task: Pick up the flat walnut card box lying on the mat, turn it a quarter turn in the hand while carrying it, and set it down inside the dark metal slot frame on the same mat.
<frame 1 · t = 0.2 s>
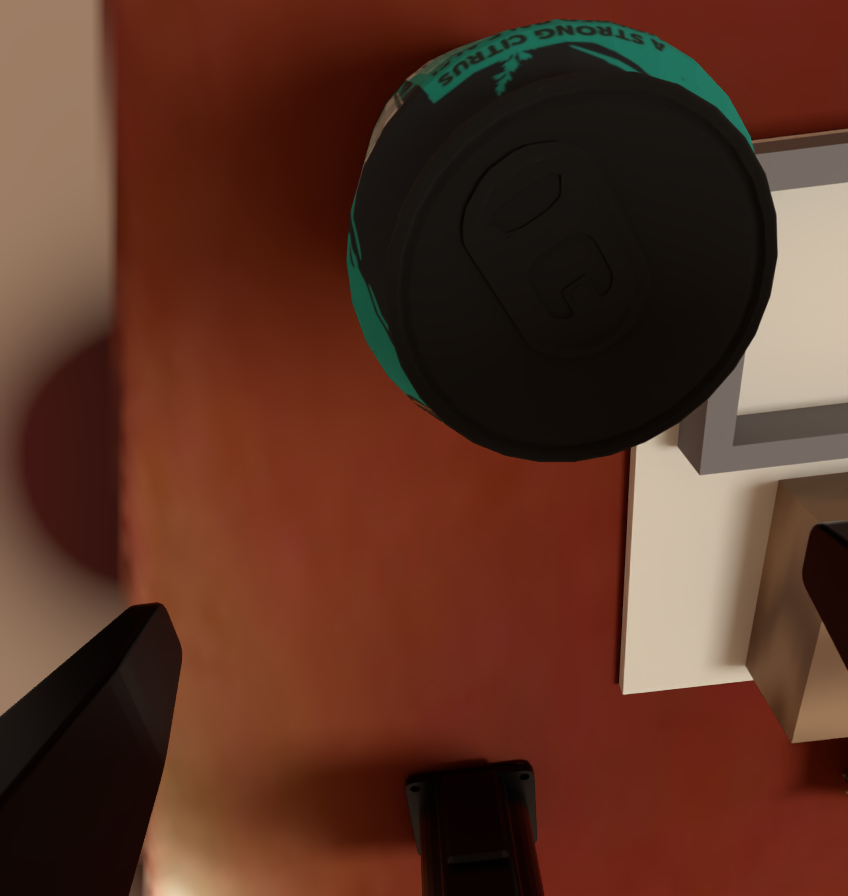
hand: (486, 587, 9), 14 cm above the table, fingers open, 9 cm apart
card box: (832, 572, 28), point 1 cm above the table, touching mat
beverage can: (481, 179, 20), on the table
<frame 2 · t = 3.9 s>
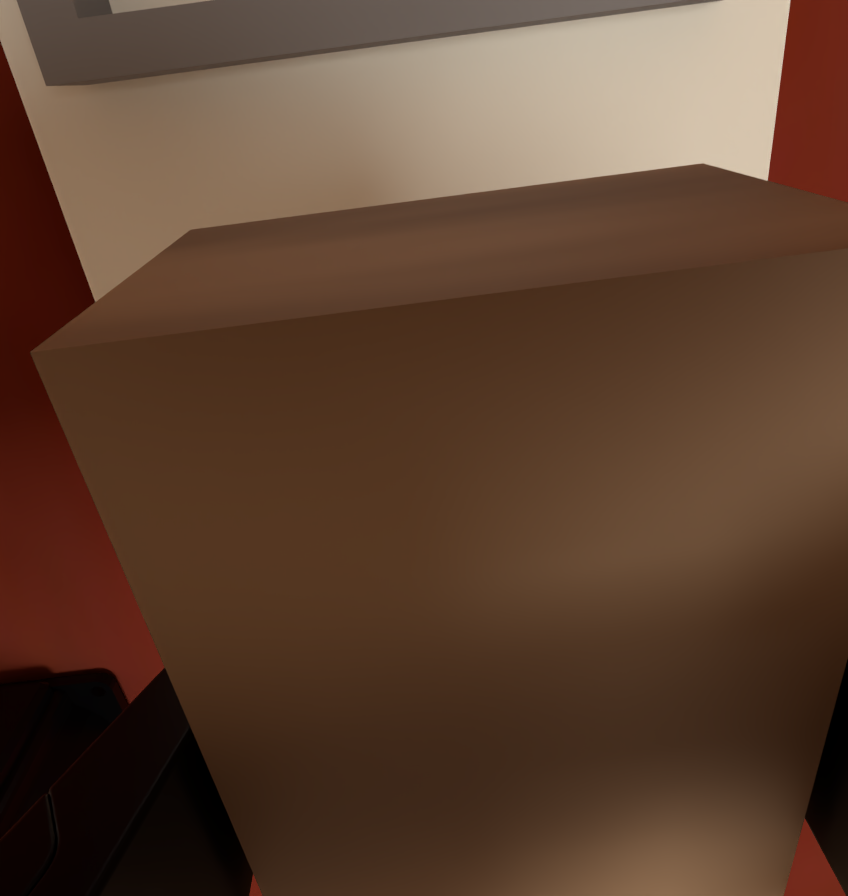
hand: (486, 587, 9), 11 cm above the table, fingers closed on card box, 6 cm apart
card box: (477, 540, 10), point 9 cm above the table, touching gripper
mat: (410, 117, 16), on the table
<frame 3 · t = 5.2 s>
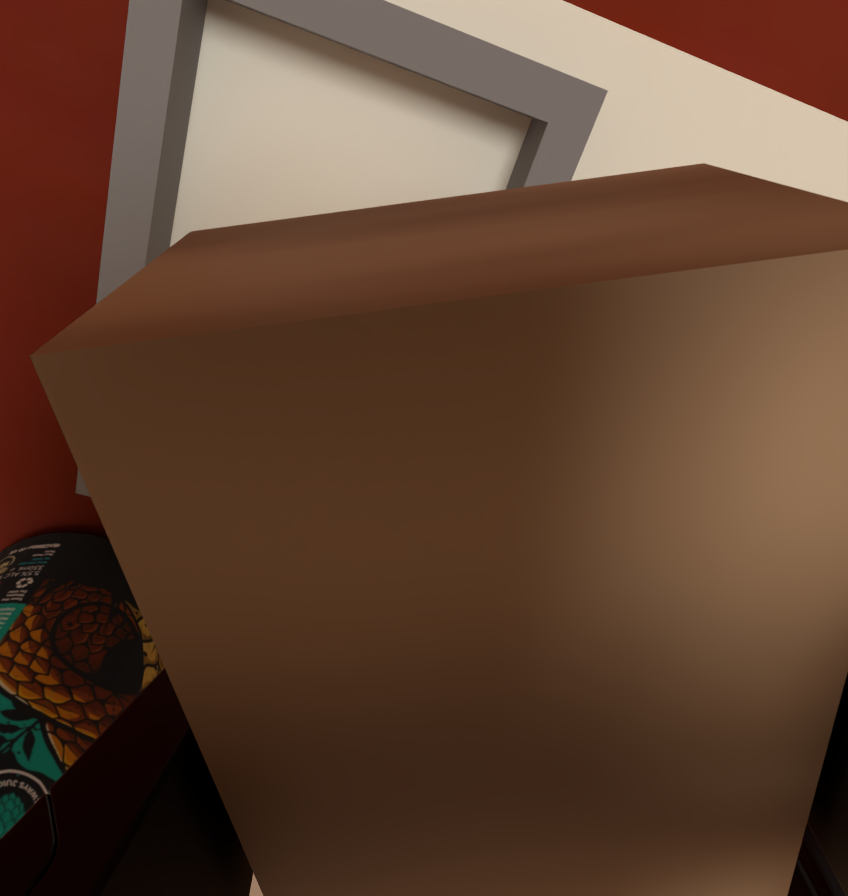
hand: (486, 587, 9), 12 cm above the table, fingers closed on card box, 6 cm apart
card box: (479, 541, 10), point 11 cm above the table, touching gripper
mat: (526, 355, 20), on the table
beverage can: (97, 595, 24), on the table
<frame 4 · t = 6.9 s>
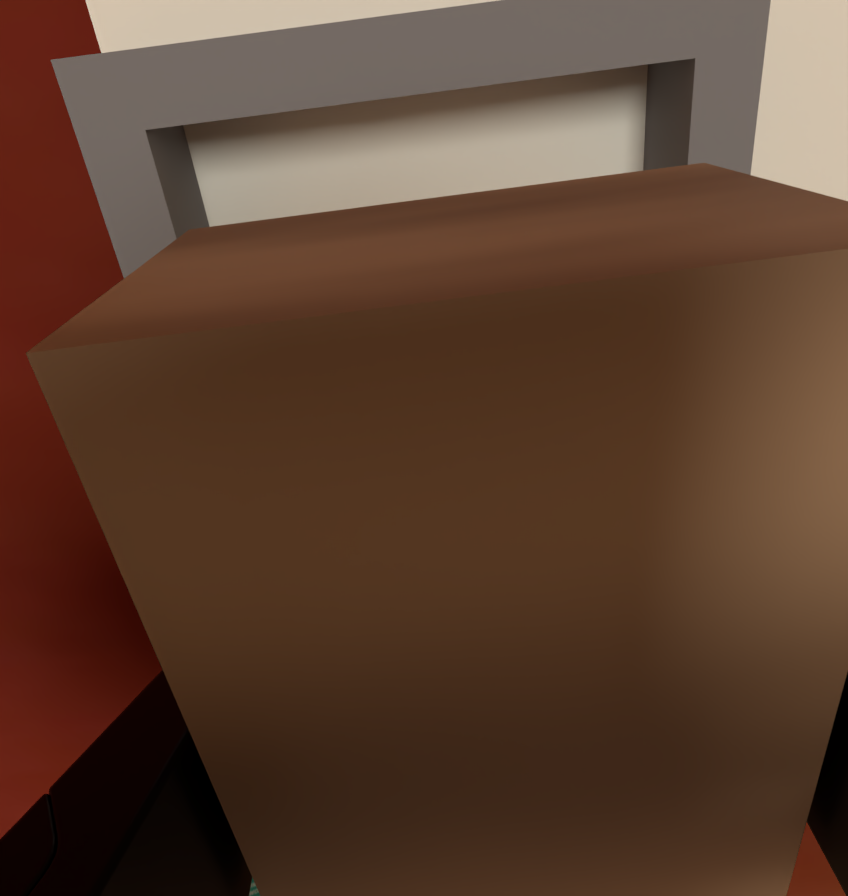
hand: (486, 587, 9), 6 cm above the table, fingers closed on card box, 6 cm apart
card box: (477, 541, 10), point 5 cm above the table, touching gripper
mat: (738, 359, 15), on the table
when the fingers open (3 cm above the table, at t = 8.0 s): card box drops 2 cm, resting on mat.
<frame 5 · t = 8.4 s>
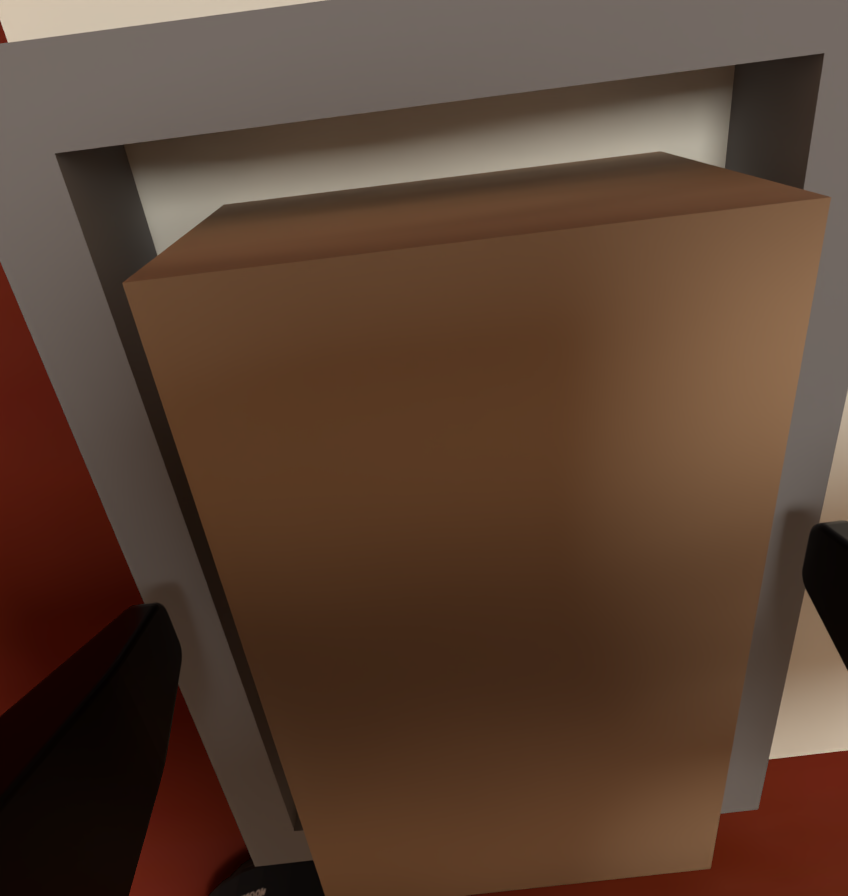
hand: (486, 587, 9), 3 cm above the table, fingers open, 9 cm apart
card box: (468, 485, 12), point 1 cm above the table, touching mat
mat: (822, 425, 12), on the table
beverage can: (332, 890, 19), on the table
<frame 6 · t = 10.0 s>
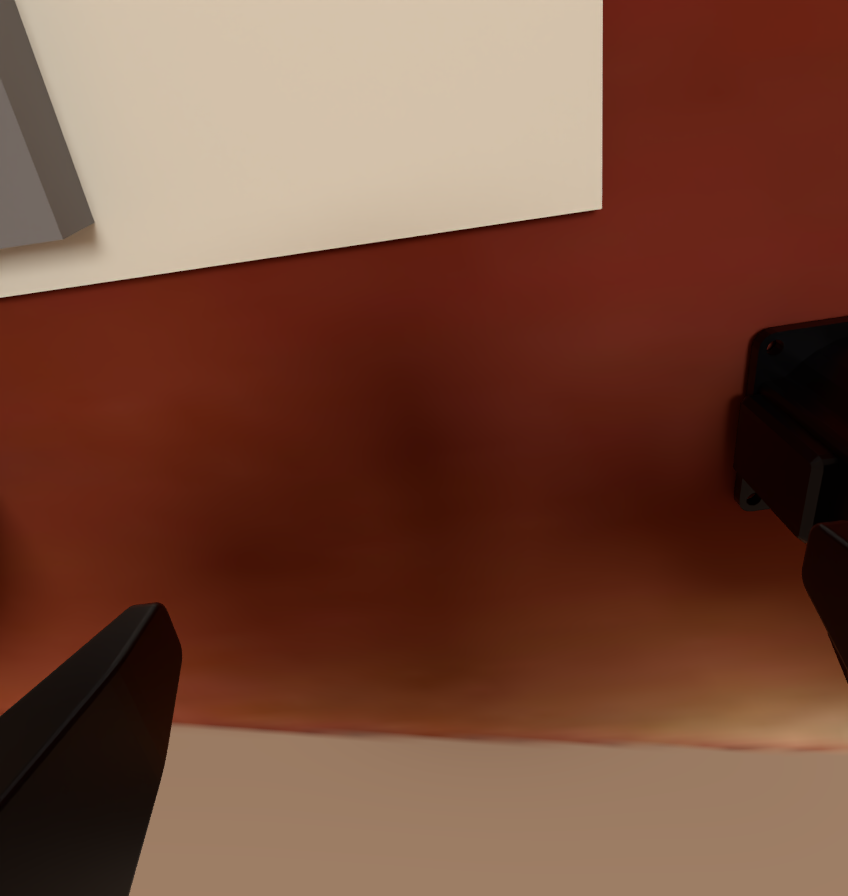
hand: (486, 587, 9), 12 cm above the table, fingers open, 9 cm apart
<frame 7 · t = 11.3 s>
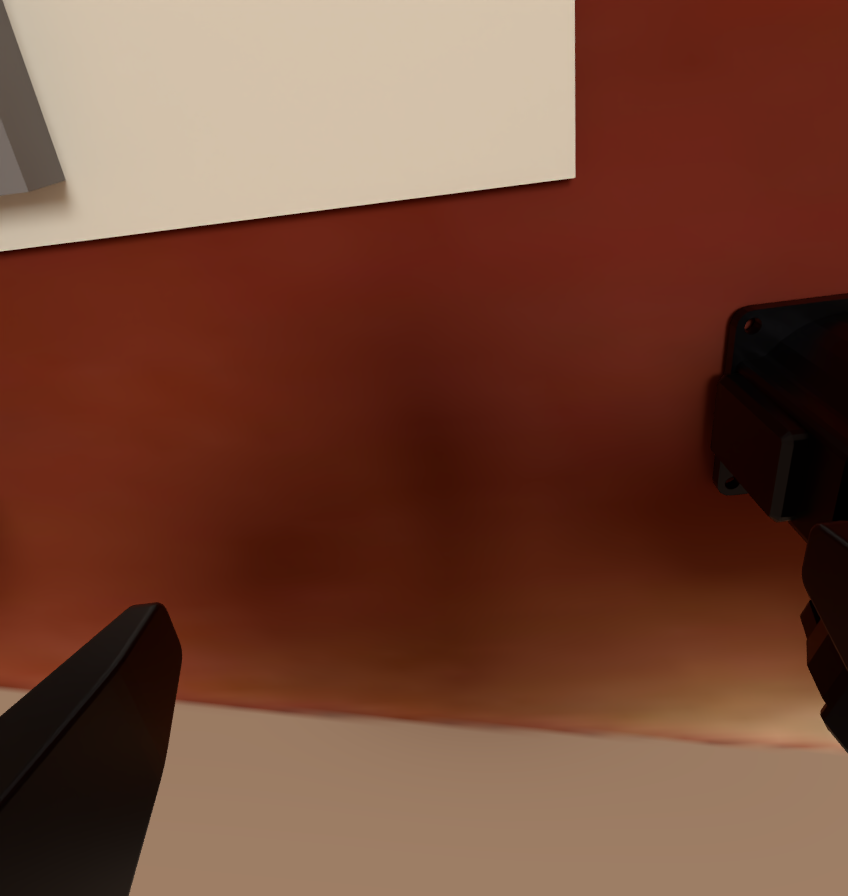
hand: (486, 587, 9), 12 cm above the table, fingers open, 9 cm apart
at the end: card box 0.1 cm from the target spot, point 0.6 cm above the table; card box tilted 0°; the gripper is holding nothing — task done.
